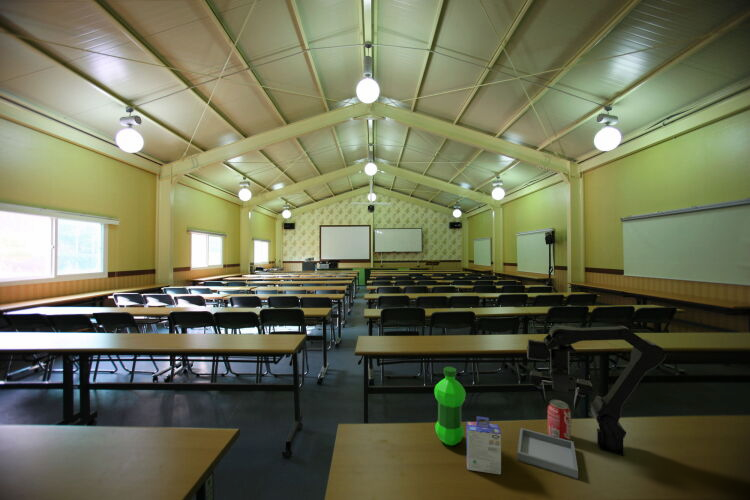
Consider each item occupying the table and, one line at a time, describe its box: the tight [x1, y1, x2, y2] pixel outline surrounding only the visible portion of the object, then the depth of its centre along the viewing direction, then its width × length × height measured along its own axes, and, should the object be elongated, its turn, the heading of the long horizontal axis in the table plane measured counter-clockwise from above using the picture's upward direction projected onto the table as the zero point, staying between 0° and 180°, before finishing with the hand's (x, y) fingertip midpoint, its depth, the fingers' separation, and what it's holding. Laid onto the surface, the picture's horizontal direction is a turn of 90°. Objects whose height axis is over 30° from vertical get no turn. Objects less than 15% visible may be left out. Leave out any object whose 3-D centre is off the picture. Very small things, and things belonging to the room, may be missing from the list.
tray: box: [516, 427, 579, 480], centre depth 98 cm, size 16×15×2 cm
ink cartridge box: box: [466, 415, 502, 475], centre depth 93 cm, size 10×6×14 cm, turn 78°
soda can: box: [546, 399, 572, 441], centre depth 107 cm, size 7×7×12 cm
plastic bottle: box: [433, 366, 467, 446], centre depth 105 cm, size 10×10×25 cm
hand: (559, 405), depth 107 cm, fingers open, 9 cm apart
